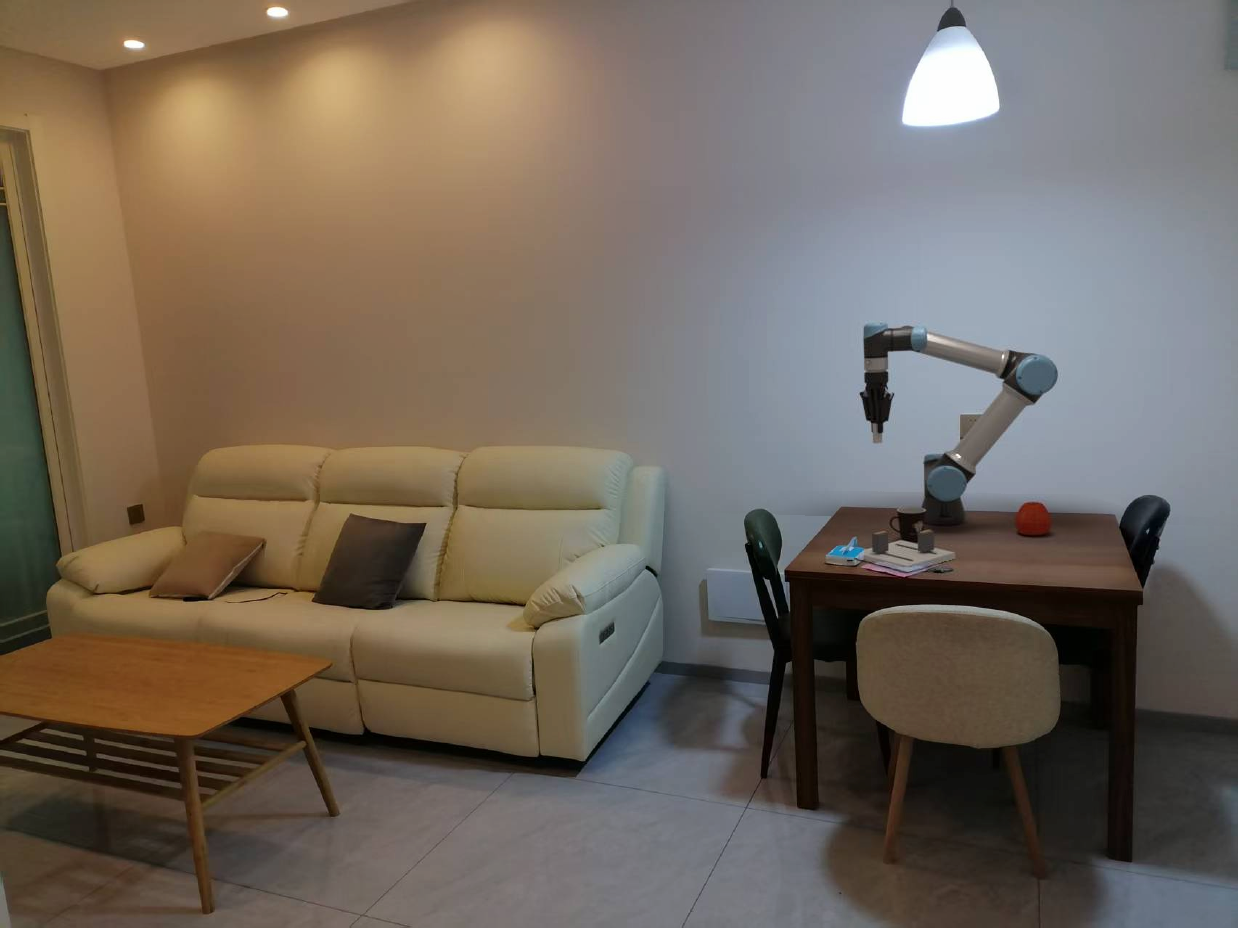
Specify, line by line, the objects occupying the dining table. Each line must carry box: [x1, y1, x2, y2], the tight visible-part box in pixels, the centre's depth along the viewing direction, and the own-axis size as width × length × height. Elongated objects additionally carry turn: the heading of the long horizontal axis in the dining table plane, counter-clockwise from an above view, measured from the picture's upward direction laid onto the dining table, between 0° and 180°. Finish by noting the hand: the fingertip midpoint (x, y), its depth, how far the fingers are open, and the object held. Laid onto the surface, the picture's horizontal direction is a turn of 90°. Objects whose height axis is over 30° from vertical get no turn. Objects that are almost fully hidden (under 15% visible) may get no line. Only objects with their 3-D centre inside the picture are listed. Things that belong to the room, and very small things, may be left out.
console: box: [863, 539, 956, 567], centre depth 258 cm, size 20×20×2 cm
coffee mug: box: [889, 506, 926, 544], centre depth 277 cm, size 12×9×10 cm
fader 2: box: [917, 529, 935, 552], centre depth 257 cm, size 4×2×6 cm, turn 121°
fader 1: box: [871, 530, 889, 553], centre depth 259 cm, size 4×2×6 cm, turn 121°
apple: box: [1014, 501, 1052, 536], centre depth 275 cm, size 10×10×10 cm
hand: (877, 442), depth 289 cm, fingers closed
